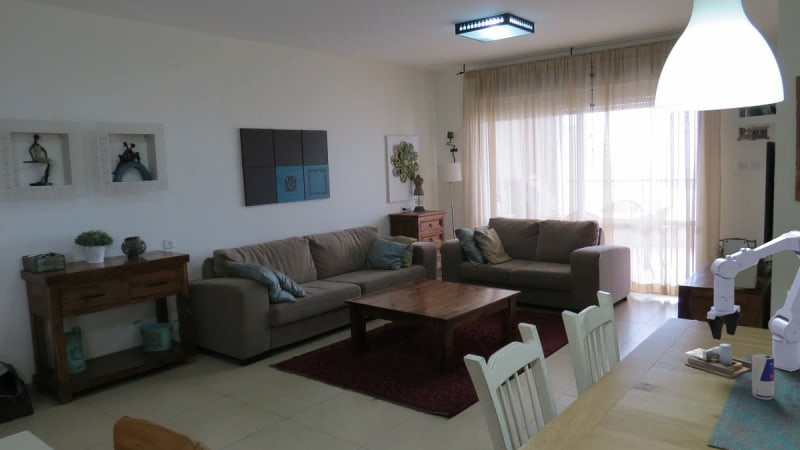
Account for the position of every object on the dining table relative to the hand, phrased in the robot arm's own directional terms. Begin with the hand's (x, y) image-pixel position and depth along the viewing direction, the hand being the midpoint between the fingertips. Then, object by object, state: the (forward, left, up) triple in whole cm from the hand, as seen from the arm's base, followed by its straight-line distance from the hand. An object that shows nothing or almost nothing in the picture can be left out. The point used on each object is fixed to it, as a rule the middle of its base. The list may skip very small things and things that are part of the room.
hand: (723, 336), depth 189 cm
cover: (0, -7, -8) cm, 11 cm away
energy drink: (+13, +20, -11) cm, 26 cm away
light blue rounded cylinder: (0, +1, -10) cm, 10 cm away
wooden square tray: (0, -1, -10) cm, 10 cm away
